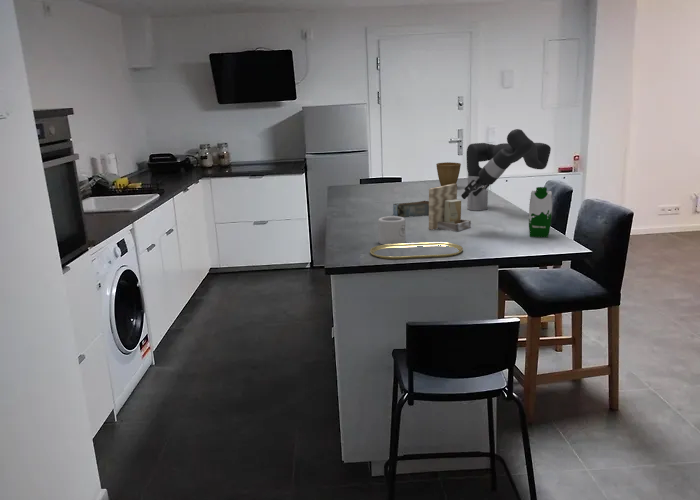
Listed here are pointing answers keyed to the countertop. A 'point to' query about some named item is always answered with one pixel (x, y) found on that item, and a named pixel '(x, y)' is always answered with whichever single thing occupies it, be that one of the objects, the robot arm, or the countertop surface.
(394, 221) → the mug
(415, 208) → the beverage carton
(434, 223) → the board
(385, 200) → the countertop surface
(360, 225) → the countertop surface
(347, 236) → the countertop surface
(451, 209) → the skincare box
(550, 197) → the milk carton
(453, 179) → the plant pot
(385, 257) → the serving platter
